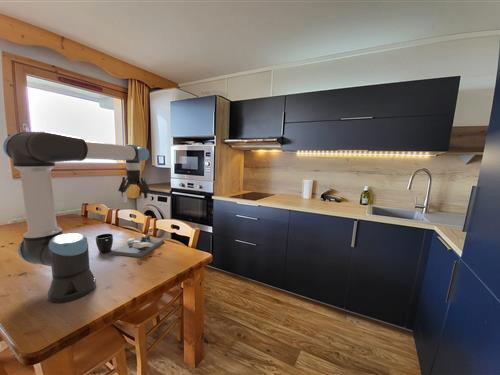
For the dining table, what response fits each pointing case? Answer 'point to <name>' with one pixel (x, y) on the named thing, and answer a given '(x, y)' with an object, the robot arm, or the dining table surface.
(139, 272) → the dining table surface
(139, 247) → the rocker
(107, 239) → the mug
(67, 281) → the robot arm
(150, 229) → the lever
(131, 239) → the button
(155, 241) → the panel
